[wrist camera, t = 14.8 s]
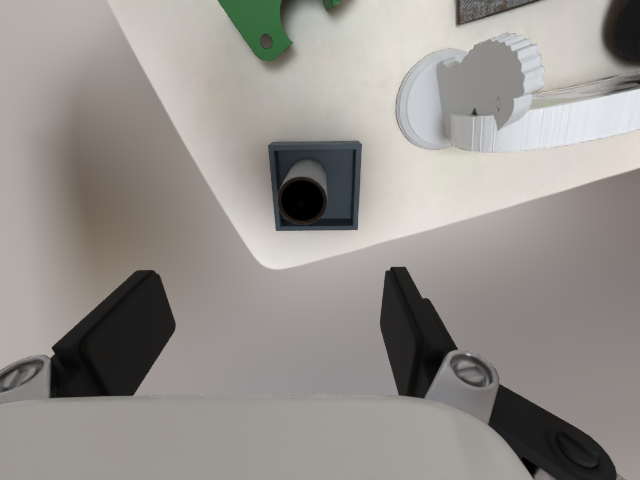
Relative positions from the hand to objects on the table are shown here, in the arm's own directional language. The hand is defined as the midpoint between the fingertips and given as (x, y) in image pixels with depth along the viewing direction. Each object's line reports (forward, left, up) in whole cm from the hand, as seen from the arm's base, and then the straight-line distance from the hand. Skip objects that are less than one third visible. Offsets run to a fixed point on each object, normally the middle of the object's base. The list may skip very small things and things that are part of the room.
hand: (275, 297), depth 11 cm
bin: (+1, -1, -25) cm, 25 cm away
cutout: (+27, +7, -25) cm, 37 cm away
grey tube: (0, 0, -25) cm, 25 cm away
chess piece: (+15, +8, -25) cm, 30 cm away
